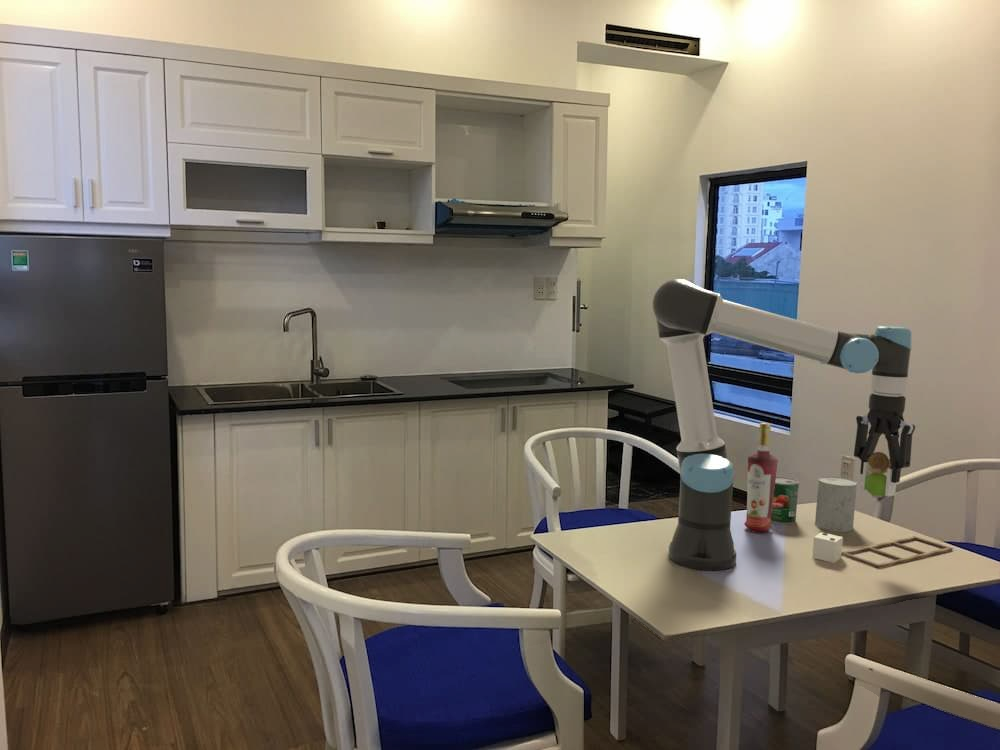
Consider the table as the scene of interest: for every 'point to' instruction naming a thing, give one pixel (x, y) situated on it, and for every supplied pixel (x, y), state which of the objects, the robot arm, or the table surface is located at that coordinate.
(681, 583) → the table surface
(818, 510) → the grey cylinder
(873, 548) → the wooden ladder frame
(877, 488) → the snail figurine
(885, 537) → the table surface
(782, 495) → the canned tomato
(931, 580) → the table surface
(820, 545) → the die
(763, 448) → the liquor
